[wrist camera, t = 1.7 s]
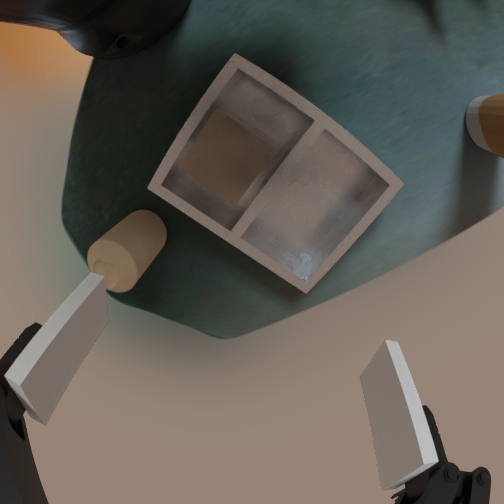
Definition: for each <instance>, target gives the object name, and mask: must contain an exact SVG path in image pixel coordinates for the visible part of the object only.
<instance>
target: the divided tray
mask: <svg viewBox="0 0 504 504" xmlns="http://www.w3.org/2000/svg"><path fill="white" fill-rule="evenodd" d="M215 109H221V110H227V111H233V112H234V113H236V114H237V115H239V116H240V117H242V118H243V119H245V120H247V121H248V122H250V123H251V124H253V125H254V126H255V127H257V128H258V129H260V130H261V131H263V132H264V133H266V134H267V135H269V136H270V137H271V138H273V139H274V140H276V142H277V151H276V152H275V153H274V154H273V156H272V157H271V158H270V160H269V161H268V162H267V164H266V165H265V166H264V168H263V169H262V170H261V172H260V173H259V174H258V176H257V177H256V179H255V180H254V181H253V183H252V184H251V185H250V187H249V188H248V189H247V191H246V192H245V194H244V195H243V196H242V198H241V199H240V200H239V202H238V203H237V205H236V206H234V205H232V204H231V203H230V202H228V201H227V200H225V199H224V198H222V197H221V196H219V195H218V194H216V193H215V192H213V191H212V190H210V189H209V188H207V187H206V186H204V185H203V184H201V183H200V182H198V181H197V180H195V179H194V178H192V177H191V176H189V175H188V174H186V173H185V172H183V171H182V170H180V169H179V168H178V166H179V165H180V163H181V161H182V160H183V158H184V156H185V155H186V153H187V152H188V150H189V148H190V147H191V145H192V144H193V142H194V141H195V139H196V138H197V136H198V134H199V133H200V131H201V130H202V128H203V127H204V125H205V124H206V122H207V121H208V119H209V118H210V116H211V115H212V114H213V112H214V111H215ZM403 185H404V183H403V182H402V181H401V180H400V179H399V178H398V177H397V176H396V175H395V174H394V173H393V172H392V171H391V170H390V169H388V168H387V167H386V166H385V165H384V164H383V163H382V162H381V161H380V160H379V159H378V158H377V157H376V156H375V155H374V154H373V153H371V152H370V151H369V150H368V149H367V148H366V147H365V146H364V145H362V144H361V143H360V142H359V141H358V140H357V139H356V138H354V137H353V136H352V135H351V134H350V133H349V132H347V131H346V130H345V129H344V128H343V127H341V126H340V125H339V124H338V123H336V122H335V121H334V120H333V119H331V118H330V117H329V116H328V115H326V114H325V113H324V112H323V111H321V110H320V109H319V108H317V107H316V106H315V105H313V104H312V103H311V102H309V101H308V100H307V99H305V98H304V97H302V96H301V95H300V94H298V93H297V92H295V91H294V90H293V89H291V88H290V87H288V86H287V85H285V84H284V83H282V82H281V81H279V80H278V79H276V78H275V77H273V76H272V75H270V74H269V73H267V72H266V71H264V70H262V69H261V68H259V67H258V66H256V65H254V64H253V63H251V62H249V61H248V60H246V59H244V58H243V57H241V56H239V55H238V54H236V53H234V55H233V56H232V57H231V58H230V60H229V61H228V62H227V63H226V65H225V66H224V67H223V69H222V70H221V71H220V73H219V74H218V76H217V77H216V78H215V80H214V81H213V82H212V84H211V85H210V87H209V88H208V90H207V91H206V92H205V94H204V95H203V97H202V98H201V100H200V101H199V103H198V104H197V106H196V107H195V109H194V110H193V112H192V113H191V115H190V116H189V118H188V119H187V121H186V122H185V124H184V126H183V127H182V129H181V130H180V132H179V133H178V135H177V137H176V138H175V140H174V142H173V143H172V145H171V147H170V148H169V150H168V152H167V153H166V155H165V157H164V159H163V160H162V162H161V164H160V166H159V167H158V169H157V171H156V173H155V175H154V177H153V178H152V180H151V182H150V184H149V186H148V188H147V189H149V190H150V191H152V192H153V193H155V194H156V195H158V196H159V197H161V198H162V199H164V200H165V201H167V202H168V203H170V204H171V205H173V206H174V207H176V208H177V209H179V210H180V211H182V212H183V213H185V214H186V215H188V216H189V217H191V218H192V219H194V220H195V221H197V222H198V223H200V224H201V225H203V226H204V227H206V228H207V229H209V230H210V231H212V232H214V233H215V234H217V235H218V236H220V237H221V238H223V239H224V240H226V241H227V242H229V243H230V244H232V245H233V246H235V247H236V248H238V249H239V250H241V251H242V252H244V253H245V254H247V255H248V256H250V257H251V258H253V259H254V260H256V261H257V262H259V263H260V264H262V265H263V266H265V267H266V268H268V269H269V270H271V271H272V272H274V273H275V274H277V275H279V276H280V277H282V278H283V279H285V280H286V281H288V282H289V283H291V284H292V285H294V286H295V287H297V288H298V289H300V290H301V291H303V292H304V293H306V294H307V293H308V292H309V290H310V289H311V288H312V287H313V286H314V285H315V284H316V283H317V282H318V281H319V280H320V279H321V278H322V277H323V276H324V275H325V274H326V273H327V272H328V271H329V269H330V268H331V267H332V266H333V265H334V264H335V263H336V262H337V261H338V260H339V259H340V258H341V257H342V255H343V254H344V253H345V252H346V251H347V250H348V249H349V248H350V247H351V246H352V244H353V243H354V242H355V241H356V240H357V239H358V238H359V237H360V235H361V234H362V233H363V232H364V231H365V230H366V229H367V228H368V226H369V225H370V224H371V223H372V222H373V221H374V219H375V218H376V217H377V216H378V215H379V214H380V212H381V211H382V210H383V209H384V208H385V207H386V205H387V204H388V203H389V202H390V201H391V199H392V198H393V197H394V196H395V195H396V193H397V192H398V191H399V190H400V188H401V187H402V186H403Z"/></svg>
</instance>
